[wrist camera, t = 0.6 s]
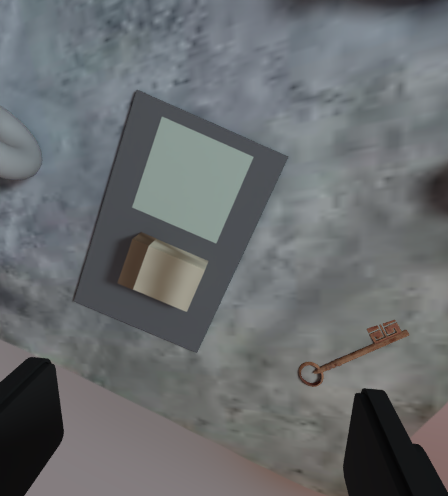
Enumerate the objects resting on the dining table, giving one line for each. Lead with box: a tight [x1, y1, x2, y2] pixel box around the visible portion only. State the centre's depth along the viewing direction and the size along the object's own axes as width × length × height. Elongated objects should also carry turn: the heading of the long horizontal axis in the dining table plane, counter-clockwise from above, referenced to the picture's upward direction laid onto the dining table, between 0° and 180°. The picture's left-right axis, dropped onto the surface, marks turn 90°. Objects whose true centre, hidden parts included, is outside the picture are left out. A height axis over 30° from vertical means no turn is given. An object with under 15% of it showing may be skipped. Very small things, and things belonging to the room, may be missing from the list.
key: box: [299, 320, 409, 387], centre depth 43 cm, size 6×1×15 cm
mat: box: [74, 90, 288, 353], centre depth 41 cm, size 18×28×1 cm, turn 157°
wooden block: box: [118, 232, 208, 312], centre depth 40 cm, size 9×6×3 cm
